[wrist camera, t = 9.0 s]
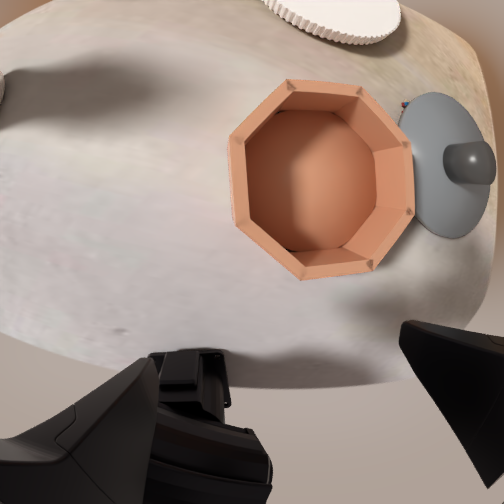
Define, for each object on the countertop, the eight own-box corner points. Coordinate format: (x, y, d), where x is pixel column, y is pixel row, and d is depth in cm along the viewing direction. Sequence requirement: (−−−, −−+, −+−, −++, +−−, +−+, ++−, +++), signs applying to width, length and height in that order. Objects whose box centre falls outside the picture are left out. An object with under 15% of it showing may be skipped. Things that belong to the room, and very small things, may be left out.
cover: (488, 226, 21) (519, 234, 17) (403, 248, 20) (440, 261, 16) (473, 104, 18) (504, 97, 14) (380, 86, 17) (413, 67, 13)
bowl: (381, 251, 21) (412, 264, 17) (236, 267, 20) (240, 287, 16) (372, 108, 19) (403, 94, 14) (224, 103, 18) (225, 80, 13)
